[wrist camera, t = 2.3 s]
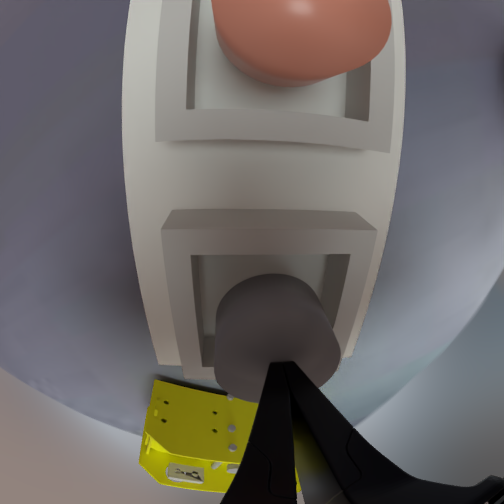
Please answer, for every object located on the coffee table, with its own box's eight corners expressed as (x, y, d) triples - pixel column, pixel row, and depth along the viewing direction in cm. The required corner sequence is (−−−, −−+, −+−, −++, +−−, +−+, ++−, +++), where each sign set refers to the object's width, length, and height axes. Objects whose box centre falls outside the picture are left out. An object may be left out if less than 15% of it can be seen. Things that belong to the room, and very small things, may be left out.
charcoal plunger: (328, 272, 11) (354, 317, 8) (311, 351, 13) (326, 397, 10) (213, 274, 10) (210, 323, 8) (218, 355, 12) (217, 405, 10)
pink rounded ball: (347, -10, 6) (384, -41, 3) (348, 95, 8) (393, 90, 5) (219, -26, 5) (217, -69, 3) (212, 84, 7) (205, 67, 5)
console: (372, -3, 9) (422, -33, 5) (337, 327, 19) (362, 382, 14) (153, -20, 8) (126, -66, 4) (165, 332, 18) (153, 392, 13)
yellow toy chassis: (148, 402, 22) (136, 479, 15) (157, 369, 20) (140, 461, 13) (298, 426, 26) (312, 492, 18) (326, 399, 24) (348, 472, 16)
